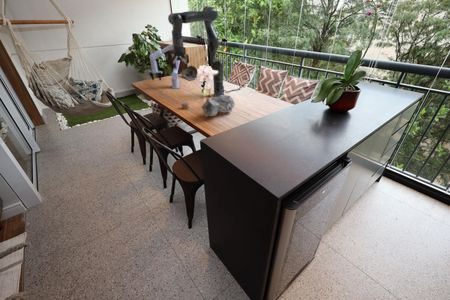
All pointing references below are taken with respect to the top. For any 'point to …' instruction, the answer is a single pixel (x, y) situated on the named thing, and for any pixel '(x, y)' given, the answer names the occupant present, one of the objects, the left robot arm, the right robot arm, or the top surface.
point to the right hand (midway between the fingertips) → (180, 68)
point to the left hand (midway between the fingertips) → (156, 80)
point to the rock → (218, 105)
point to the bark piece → (189, 73)
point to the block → (185, 106)
